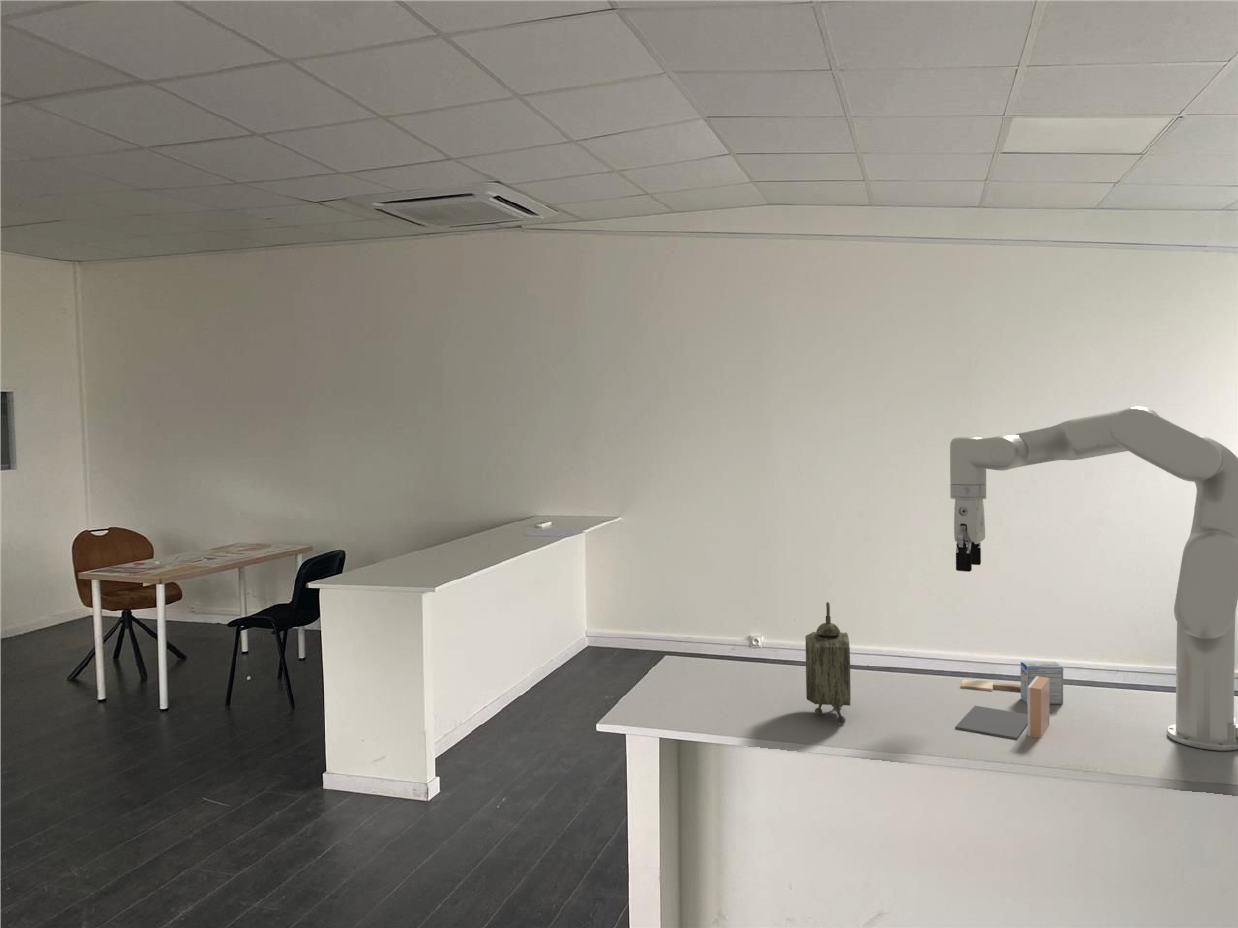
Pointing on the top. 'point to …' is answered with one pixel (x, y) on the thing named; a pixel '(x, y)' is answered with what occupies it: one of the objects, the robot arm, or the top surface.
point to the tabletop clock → (828, 667)
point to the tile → (1038, 706)
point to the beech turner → (988, 685)
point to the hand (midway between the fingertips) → (968, 567)
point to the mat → (994, 722)
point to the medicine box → (1043, 670)
